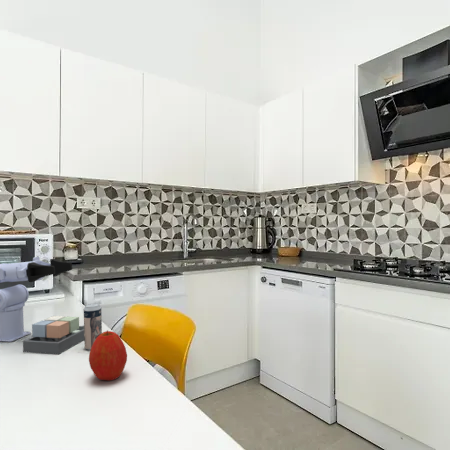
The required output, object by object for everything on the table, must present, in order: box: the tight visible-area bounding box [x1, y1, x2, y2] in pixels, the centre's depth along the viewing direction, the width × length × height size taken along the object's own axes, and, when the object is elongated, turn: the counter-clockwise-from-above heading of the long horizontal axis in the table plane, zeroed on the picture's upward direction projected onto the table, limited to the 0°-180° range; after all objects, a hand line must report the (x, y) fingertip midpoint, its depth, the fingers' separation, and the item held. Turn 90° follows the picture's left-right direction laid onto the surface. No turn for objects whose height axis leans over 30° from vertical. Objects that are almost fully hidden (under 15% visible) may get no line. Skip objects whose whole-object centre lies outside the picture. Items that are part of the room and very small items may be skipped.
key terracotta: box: [47, 321, 69, 338], centre depth 98 cm, size 4×4×3 cm
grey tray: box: [22, 325, 84, 355], centre depth 102 cm, size 11×15×3 cm
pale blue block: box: [31, 319, 54, 337], centre depth 99 cm, size 4×4×3 cm
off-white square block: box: [43, 315, 66, 322], centre depth 103 cm, size 4×4×3 cm
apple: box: [88, 330, 128, 381], centre depth 79 cm, size 8×8×11 cm
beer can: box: [83, 303, 103, 351], centre depth 98 cm, size 5×5×12 cm
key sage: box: [58, 316, 80, 333], centre depth 102 cm, size 4×4×3 cm
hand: (63, 268), depth 104 cm, fingers open, 7 cm apart
